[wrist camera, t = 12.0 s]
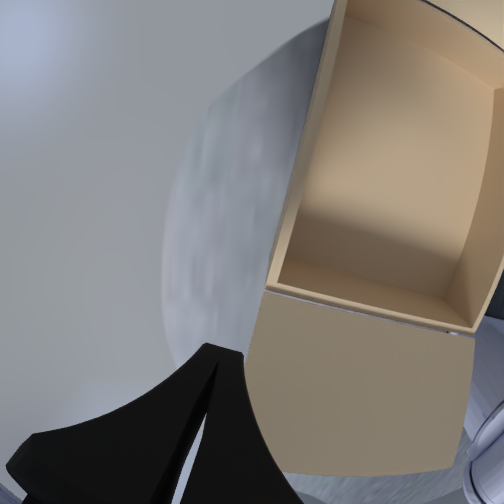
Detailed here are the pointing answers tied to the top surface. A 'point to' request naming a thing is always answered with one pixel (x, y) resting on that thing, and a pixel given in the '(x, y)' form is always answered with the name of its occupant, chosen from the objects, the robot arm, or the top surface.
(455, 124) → the carton
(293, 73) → the top surface
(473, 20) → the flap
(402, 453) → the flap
